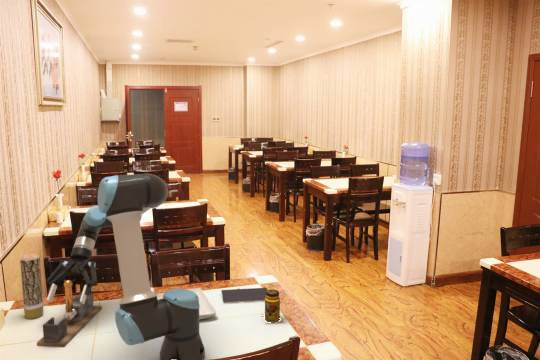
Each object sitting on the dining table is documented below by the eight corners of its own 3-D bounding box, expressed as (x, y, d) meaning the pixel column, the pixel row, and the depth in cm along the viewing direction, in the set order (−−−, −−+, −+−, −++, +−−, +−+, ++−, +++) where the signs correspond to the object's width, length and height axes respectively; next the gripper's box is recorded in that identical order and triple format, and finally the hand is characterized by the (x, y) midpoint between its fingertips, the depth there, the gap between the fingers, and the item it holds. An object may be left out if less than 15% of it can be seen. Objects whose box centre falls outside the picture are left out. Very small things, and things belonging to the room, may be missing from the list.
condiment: (266, 324, 176) (266, 296, 174) (260, 315, 184) (260, 287, 182) (283, 322, 178) (284, 294, 176) (277, 313, 186) (277, 285, 184)
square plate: (138, 304, 193) (138, 295, 192) (200, 294, 204) (200, 286, 203) (147, 333, 168) (147, 323, 168) (217, 320, 179) (217, 311, 178)
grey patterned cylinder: (35, 320, 176) (31, 260, 172) (20, 318, 177) (16, 258, 173) (47, 312, 183) (43, 254, 179) (32, 311, 184) (28, 253, 180)
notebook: (266, 290, 210) (221, 293, 206) (266, 287, 209) (221, 289, 206) (271, 302, 197) (223, 305, 194) (271, 298, 197) (223, 301, 193)
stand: (78, 307, 188) (77, 290, 186) (101, 308, 187) (101, 291, 186) (37, 345, 158) (35, 325, 156) (64, 347, 157) (63, 326, 156)
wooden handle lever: (85, 301, 186) (83, 265, 184) (93, 301, 186) (91, 265, 184) (64, 320, 169) (61, 281, 167) (72, 320, 169) (69, 281, 166)
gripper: (114, 255, 182) (100, 306, 169) (57, 253, 183) (38, 304, 170) (108, 247, 176) (93, 299, 163) (49, 244, 177) (29, 297, 164)
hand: (65, 302), depth 167 cm, fingers open, 12 cm apart
